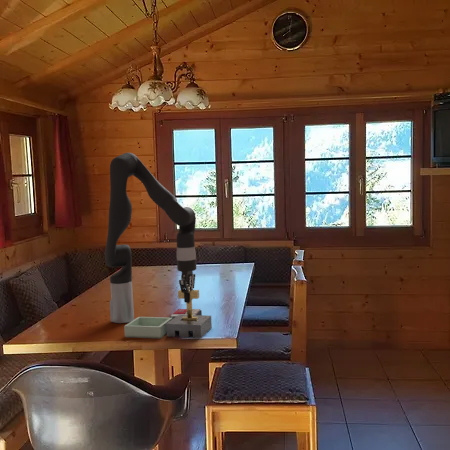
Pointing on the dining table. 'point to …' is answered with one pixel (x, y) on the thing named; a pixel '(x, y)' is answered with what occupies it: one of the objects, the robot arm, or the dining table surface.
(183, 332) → the lock block
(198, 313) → the calculator
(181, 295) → the t key
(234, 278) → the dining table surface
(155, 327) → the tray
